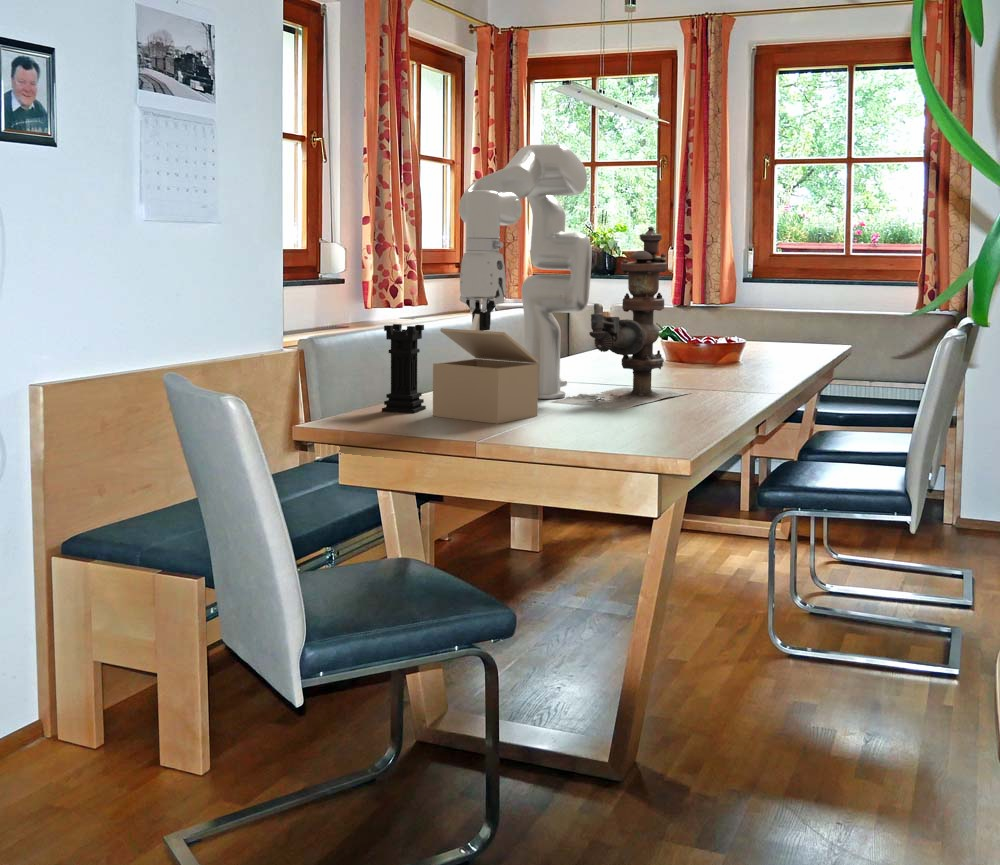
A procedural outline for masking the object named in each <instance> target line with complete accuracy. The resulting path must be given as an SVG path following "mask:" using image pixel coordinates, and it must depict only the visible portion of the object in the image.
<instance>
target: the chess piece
mask: <svg viewBox="0 0 1000 865" xmlns="http://www.w3.org/2000/svg"><path fill="white" fill-rule="evenodd" d="M402 328H403V327H402V324H401V323H393V324H392V325H390V324H389V325H388V324H386V325H385V324H384V326H383V331H384V332H385V334H386V338H385V339H386V340H388V341H389V340H390V349H388V354H390V393H386V395H385V396H386V397H385V398H386V400H385V401H383V405H384V406H385V407H382V408H381V412H383V413H384V412H385V413H397V412H398V414H399V413H401V414H417V413H419V412H421V411H422V412H423V411H425V410H426V409H427V406H426V405H422V404H424V399H423V398H420V397H423V396H422V394H423V393H422V392H418V353H420V348H418V340H422V339H423V331H424V330H425V324H415V325H406V329H404V328H403V329H402ZM387 399H388V400H387Z"/></svg>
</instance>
